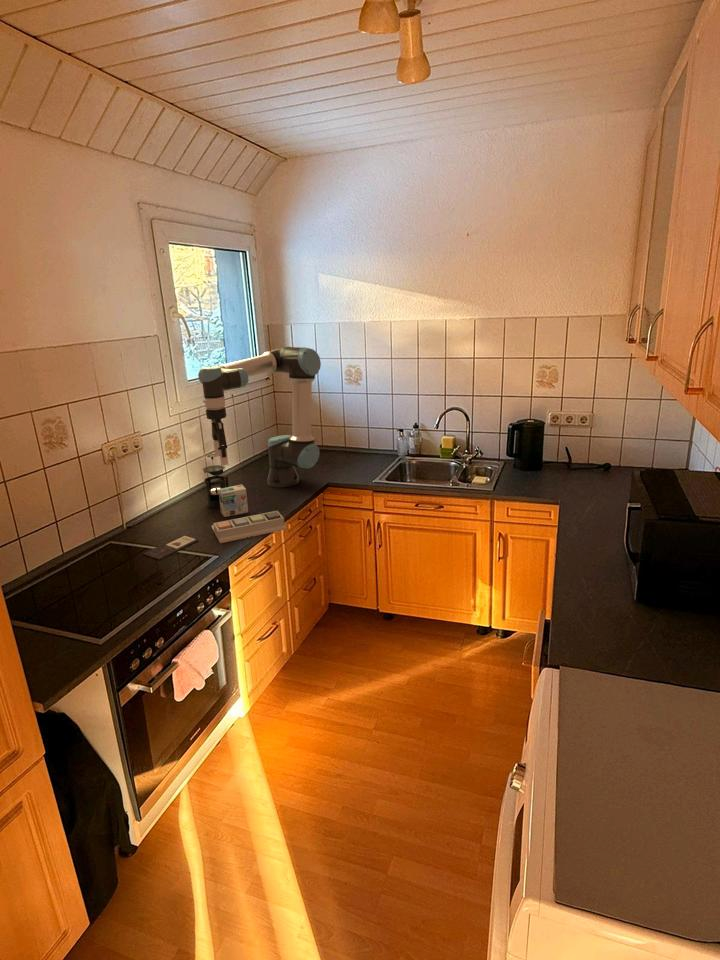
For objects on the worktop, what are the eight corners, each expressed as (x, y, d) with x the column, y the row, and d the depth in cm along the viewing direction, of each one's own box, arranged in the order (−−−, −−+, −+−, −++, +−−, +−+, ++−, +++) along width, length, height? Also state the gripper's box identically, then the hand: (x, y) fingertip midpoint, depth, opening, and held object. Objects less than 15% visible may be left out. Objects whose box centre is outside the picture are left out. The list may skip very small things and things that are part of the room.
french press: (215, 510, 241) (209, 459, 234) (201, 506, 247) (194, 456, 239) (236, 501, 250) (230, 452, 243) (222, 498, 256) (216, 449, 248)
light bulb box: (224, 517, 234) (221, 493, 230) (220, 512, 240) (217, 488, 236) (249, 512, 238) (246, 488, 235) (244, 507, 244) (242, 484, 241)
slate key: (245, 521, 221) (244, 517, 221) (248, 525, 218) (247, 521, 217) (233, 523, 220) (233, 519, 219) (236, 527, 216) (236, 524, 215)
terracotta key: (228, 524, 219) (228, 521, 218) (231, 528, 215) (230, 525, 214) (217, 527, 217) (216, 523, 217) (219, 531, 213) (219, 527, 213)
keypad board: (274, 515, 234) (273, 506, 233) (286, 529, 220) (285, 519, 219) (211, 527, 224) (210, 518, 223) (220, 543, 210) (219, 533, 209)
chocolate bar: (142, 553, 203) (182, 535, 217) (143, 555, 203) (182, 537, 217) (159, 559, 198) (198, 540, 212) (159, 561, 199) (198, 542, 213)
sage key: (261, 518, 224) (260, 514, 223) (264, 522, 220) (263, 518, 220) (250, 520, 222) (249, 516, 222) (253, 524, 218) (252, 520, 218)
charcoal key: (276, 515, 226) (276, 511, 226) (280, 519, 223) (279, 515, 222) (266, 517, 225) (265, 513, 224) (269, 521, 221) (268, 517, 220)
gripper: (201, 403, 226) (207, 453, 233) (210, 415, 204) (217, 470, 211) (219, 401, 229) (225, 451, 236) (231, 412, 207) (237, 467, 214)
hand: (221, 460), depth 224 cm, fingers open, 13 cm apart
